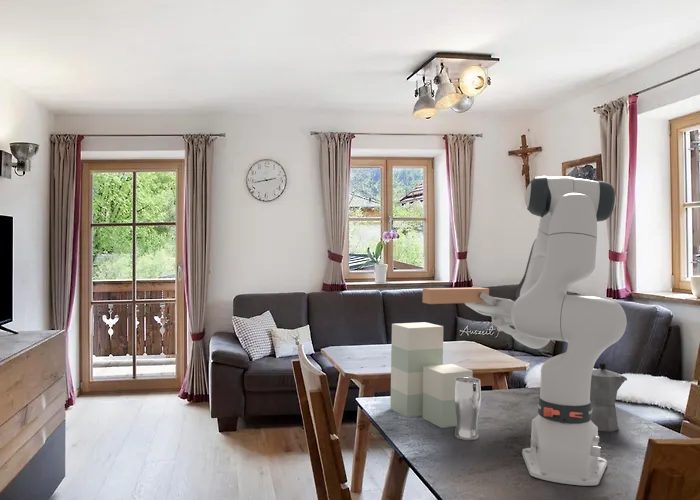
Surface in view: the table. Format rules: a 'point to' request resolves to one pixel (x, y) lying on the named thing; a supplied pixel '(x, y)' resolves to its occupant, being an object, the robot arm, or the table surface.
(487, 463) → the table surface
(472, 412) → the beer glass
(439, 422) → the short tower
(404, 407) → the tall tower
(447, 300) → the long brick
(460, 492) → the table surface
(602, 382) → the coffeepot
